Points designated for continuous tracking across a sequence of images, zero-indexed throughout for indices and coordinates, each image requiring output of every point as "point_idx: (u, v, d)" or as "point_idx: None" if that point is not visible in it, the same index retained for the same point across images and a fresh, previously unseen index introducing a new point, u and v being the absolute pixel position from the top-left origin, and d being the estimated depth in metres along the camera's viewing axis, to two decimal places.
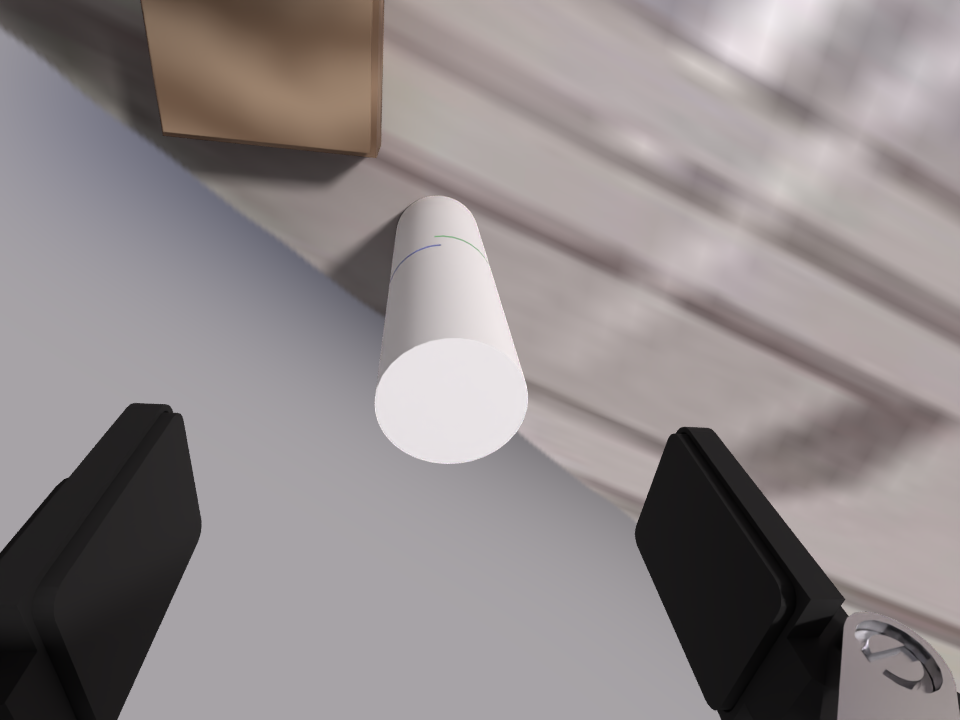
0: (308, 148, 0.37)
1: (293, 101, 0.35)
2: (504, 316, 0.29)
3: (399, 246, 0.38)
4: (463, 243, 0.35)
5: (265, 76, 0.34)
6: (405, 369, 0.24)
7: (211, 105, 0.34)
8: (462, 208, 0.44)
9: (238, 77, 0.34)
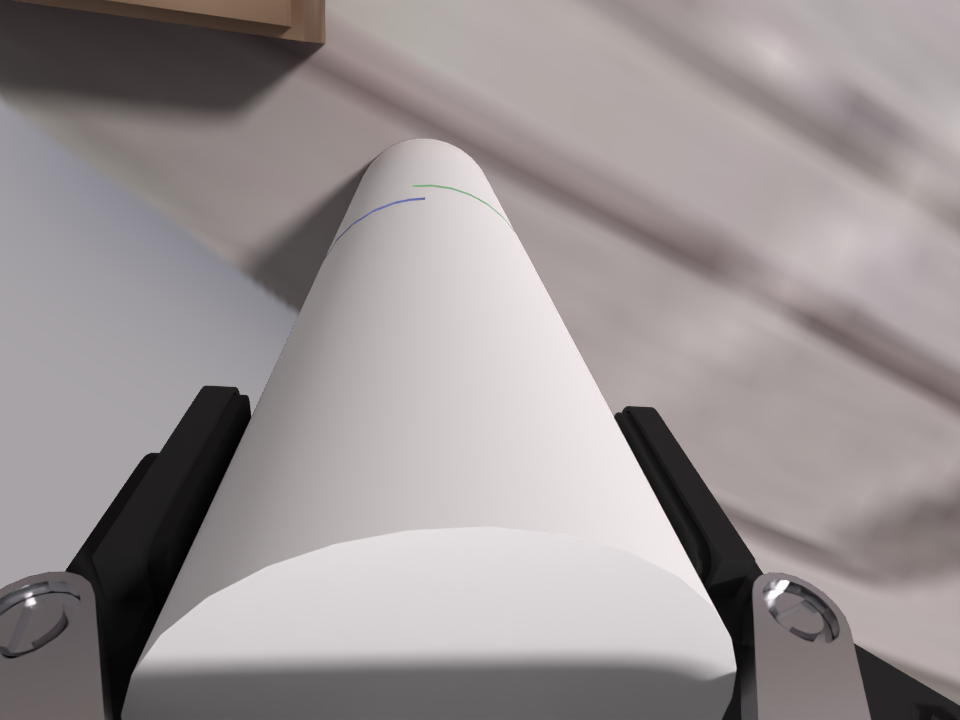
0: (166, 17, 0.19)
1: None
2: None
3: (347, 212, 0.19)
4: (473, 200, 0.17)
5: None
6: (235, 649, 0.05)
7: None
8: (467, 158, 0.25)
9: None
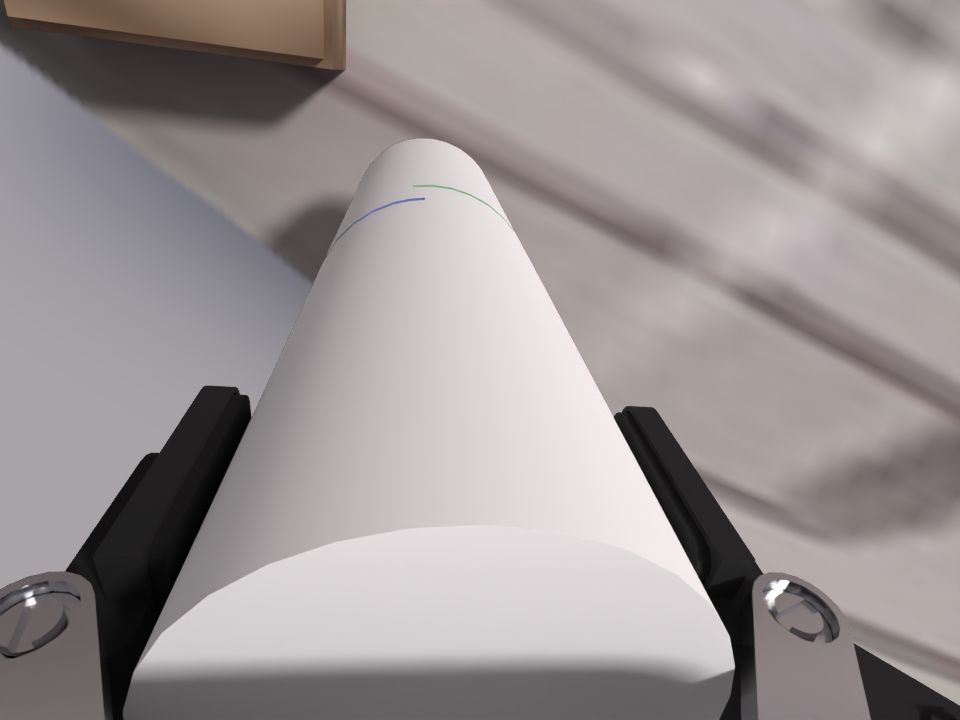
0: (232, 52, 0.25)
1: None
2: None
3: (347, 212, 0.19)
4: (473, 200, 0.17)
5: None
6: (236, 647, 0.05)
7: None
8: (467, 158, 0.25)
9: None
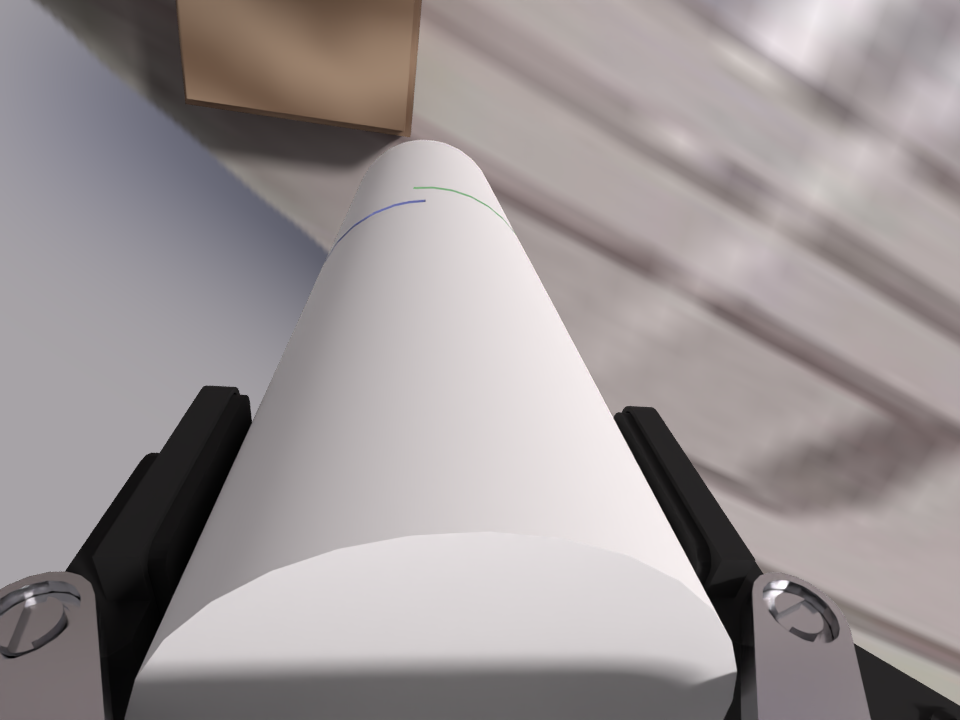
0: (339, 124, 0.35)
1: (327, 71, 0.33)
2: (587, 369, 0.11)
3: (347, 214, 0.19)
4: (473, 202, 0.17)
5: (299, 43, 0.32)
6: (238, 653, 0.05)
7: (240, 72, 0.32)
8: (468, 159, 0.25)
9: (271, 43, 0.32)
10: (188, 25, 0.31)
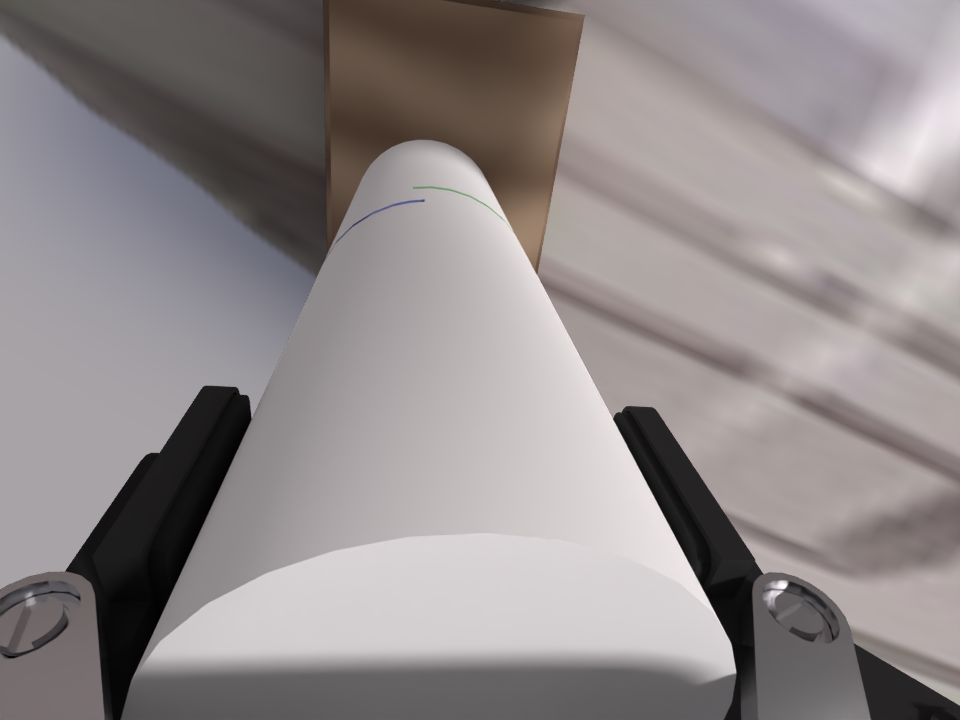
0: None
1: None
2: (586, 369, 0.11)
3: (347, 214, 0.19)
4: (473, 202, 0.17)
5: None
6: (234, 655, 0.05)
7: None
8: (467, 159, 0.25)
9: None
10: (339, 208, 0.33)
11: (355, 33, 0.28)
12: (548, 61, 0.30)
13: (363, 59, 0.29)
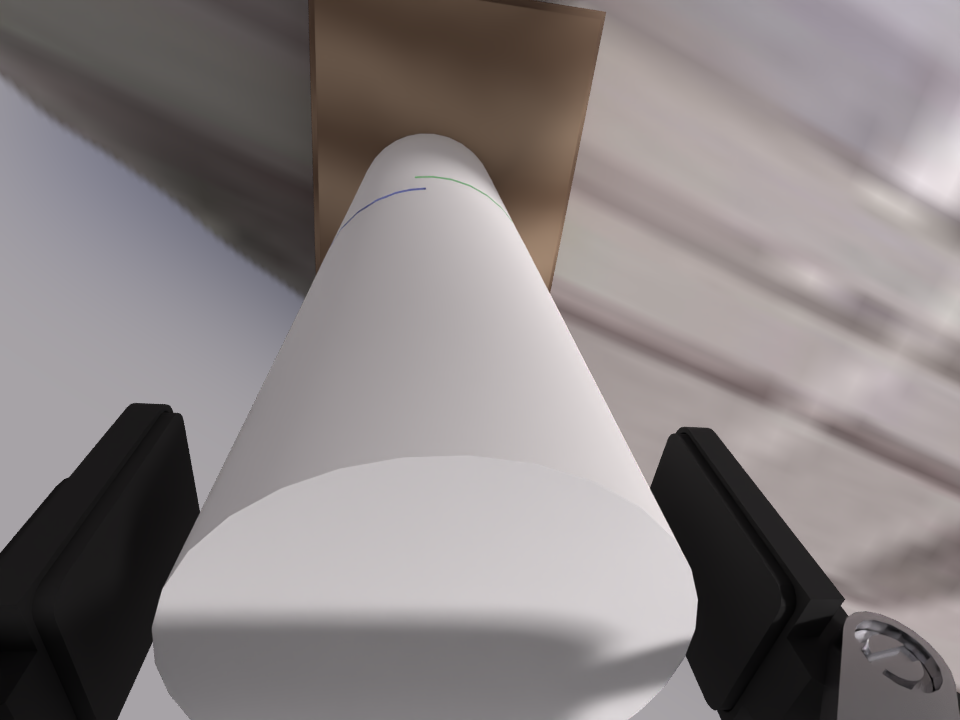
0: None
1: None
2: None
3: (352, 203, 0.20)
4: (472, 190, 0.17)
5: None
6: (252, 567, 0.06)
7: None
8: (469, 152, 0.26)
9: None
10: (328, 228, 0.29)
11: (344, 32, 0.25)
12: (564, 64, 0.26)
13: (354, 62, 0.25)
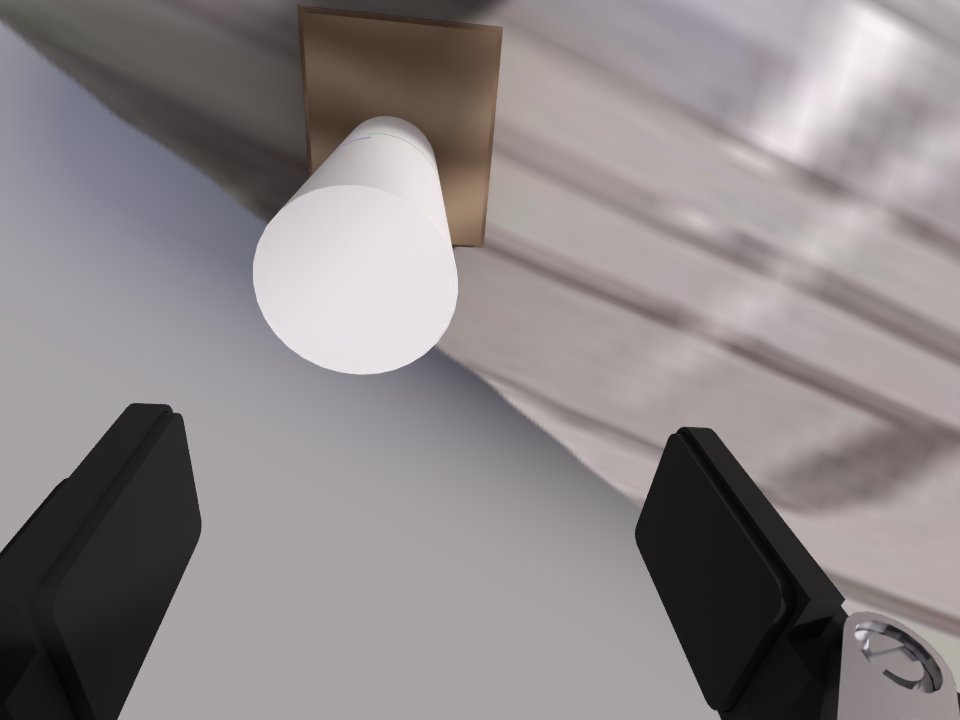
0: None
1: None
2: (439, 201, 0.24)
3: None
4: (400, 140, 0.29)
5: None
6: (287, 233, 0.18)
7: None
8: (413, 127, 0.38)
9: None
10: None
11: (324, 49, 0.37)
12: (476, 64, 0.38)
13: (331, 69, 0.37)
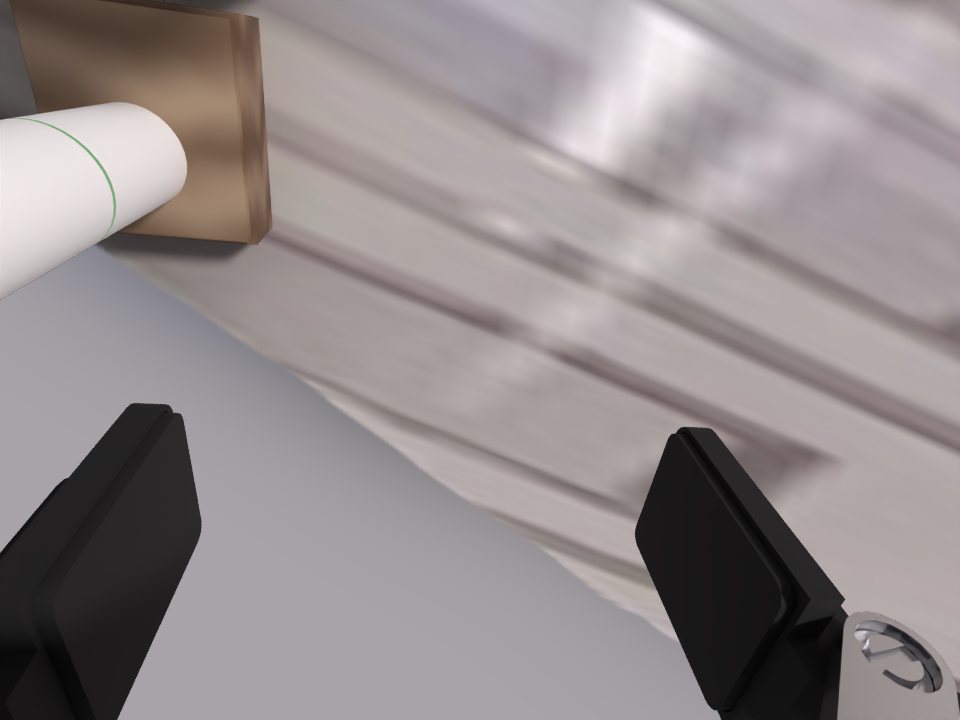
0: (196, 237, 0.43)
1: (178, 202, 0.41)
2: None
3: None
4: (42, 126, 0.28)
5: None
6: None
7: None
8: (142, 115, 0.36)
9: None
10: None
11: (39, 28, 0.35)
12: (210, 51, 0.36)
13: (51, 49, 0.35)
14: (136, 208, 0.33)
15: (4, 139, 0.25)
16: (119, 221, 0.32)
